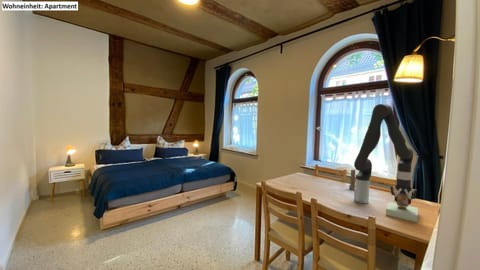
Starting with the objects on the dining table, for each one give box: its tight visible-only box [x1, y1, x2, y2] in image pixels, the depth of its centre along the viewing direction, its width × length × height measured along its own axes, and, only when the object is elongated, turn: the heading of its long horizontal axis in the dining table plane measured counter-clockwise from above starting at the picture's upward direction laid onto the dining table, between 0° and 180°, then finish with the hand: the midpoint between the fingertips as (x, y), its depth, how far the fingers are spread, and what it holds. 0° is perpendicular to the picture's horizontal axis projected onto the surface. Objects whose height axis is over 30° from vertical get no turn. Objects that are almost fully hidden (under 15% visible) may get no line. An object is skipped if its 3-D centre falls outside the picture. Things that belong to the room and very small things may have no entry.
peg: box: [396, 193, 409, 210], centre depth 140 cm, size 6×6×12 cm
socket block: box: [385, 201, 419, 223], centre depth 140 cm, size 16×16×4 cm
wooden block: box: [348, 168, 356, 191], centre depth 191 cm, size 4×11×18 cm, turn 99°
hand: (402, 203), depth 140 cm, fingers closed on peg, 6 cm apart
